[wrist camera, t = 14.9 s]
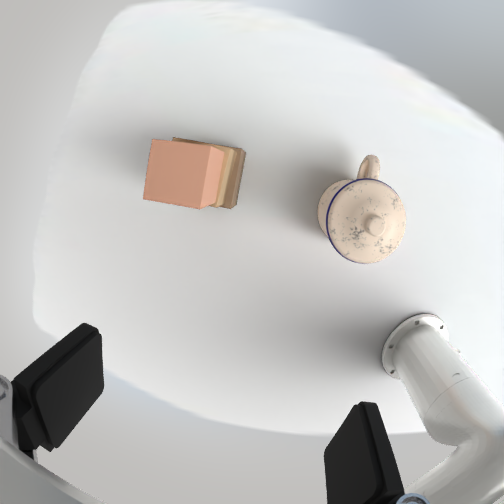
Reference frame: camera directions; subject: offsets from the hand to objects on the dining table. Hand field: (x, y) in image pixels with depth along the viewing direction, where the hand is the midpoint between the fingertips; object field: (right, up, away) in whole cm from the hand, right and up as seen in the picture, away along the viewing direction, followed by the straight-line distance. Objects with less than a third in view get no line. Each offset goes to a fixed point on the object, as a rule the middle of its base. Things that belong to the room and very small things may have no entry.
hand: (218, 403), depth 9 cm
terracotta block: (-4, +13, +19) cm, 23 cm away
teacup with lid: (+14, +12, +28) cm, 33 cm away
